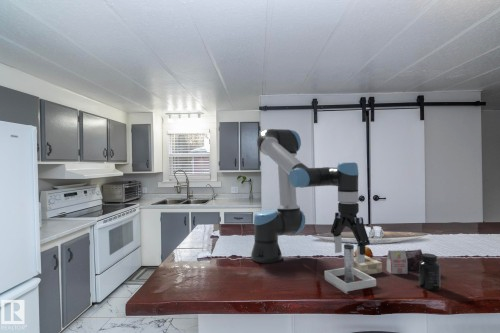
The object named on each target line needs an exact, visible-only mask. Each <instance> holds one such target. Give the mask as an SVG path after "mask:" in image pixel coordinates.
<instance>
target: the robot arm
mask: <svg viewBox="0 0 500 333" xmlns="http://www.w3.org/2000/svg"><path fill="white" fill-rule="evenodd" d="M256 145H257V146H256V147H257V148H258V150H259V151H260V152H261V153H262V154H263V155H265V156H268V157H269V158H270V159H271V160H272V161H273V162H275V164H276V165H277V171H278V175H277V176H278V188H279V189H278V190H279V191H278V192H279V205H278V207H277V210H276V209H271V208H270V209H264V210H260V211H258V212H257V211H256V213H254V216H253V228H254V229H253V230H254V232H253V233H254V234H253V236H254V244H253V247H252V251H251V253H250V257H251V260H252V261H254V262H256V263H261V264H262V263H263V264H271V263H277V262H280V261H281V260H282V259H283V258H282V257H283V256H282V255H283V254H282V251H281V247H280V244H279V236H283V235H284V236H285V235H293V234H294V235H295V234H296V233H300V232H302V231H303V229H304V228H305V225H306V216H305V213H304V211H302V210H301V208H300V206H299V205H298V204H297V188H301V189H302V188H310V187H311V188H313V187H326V186H327V187H328V186H330V187H331V186H333V187H337V201H338V203H337V212H335V213H334V220H333V223H332V226H331V229H330V234H333V238H334V239H333V240H334V253H335V254H337V253H342V246H343V244H342V243H343V242H342V240H343V239H342V233H343V231H344V229H345V228H346V227H347V228H349V230H351V231H352V234H353V235H354V236H353V237H354V238H355V240H356V242H357V243H358V244H357V245H356V250H357V263H358V264H360V263H365V247H367V246H369V245H371V243H370V239H369V236H368V234H367V230H366V228H365V227H366V226H365V224H364V218H363V217H361V216H359V217H358V216H357V214H358V213H359V211H360V209H359V208H360V206H359V165H358V163H357V162H354V161H353V162H338V163H337V167H331V166H330V167H329V166H326V167H325V166H324V167H308V166H307V165H305V164H304V163H303V162H301V160H299V159H298V158H297V157H296V156H297V155H298V153H297V152H299V151H300V149H301V146H302V140H301V137H300V135H299V133H298V132H297V131H296V130H293V129H284V128H283V129H281V128H279V129H276V128H268V129H265V130H262V132H261V133H259V135H258V137H257V140H256Z"/></svg>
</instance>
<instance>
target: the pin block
mask: <svg viewBox="0 0 500 333" xmlns="http://www.w3.org/2000/svg"><path fill="white" fill-rule="evenodd" d="M354 268H355V269H357V270H359V271H361V272H363V273H365V274H367V275H374V274H379V273H382V272H383V262H382V261H380V260H377V259H374V258H373V257H372V258H370V257H368V256H365V263H360V264H358V263H357V257H355V256H354Z"/></svg>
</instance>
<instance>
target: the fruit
mask: <svg viewBox="0 0 500 333" xmlns="http://www.w3.org/2000/svg"><path fill="white" fill-rule="evenodd" d="M365 256H368V257H370V258H373V250H372V249H371V248H370V247H368V246H365ZM354 257H357V249H355V251H354Z"/></svg>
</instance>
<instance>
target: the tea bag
mask: <svg viewBox="0 0 500 333" xmlns="http://www.w3.org/2000/svg"><path fill="white" fill-rule="evenodd" d="M387 251H388V252H387V256H386V271H387V272H388V273H390V274H391V275H394V274H395V275H397V274H398V275H400V274H401V275H402V274H405V275H407V274H408V270H409V269H407V258H406V253H405V251H406V249H405V250H404V249H403V250H401V249H400V250H397V249H396V250H387Z"/></svg>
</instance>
